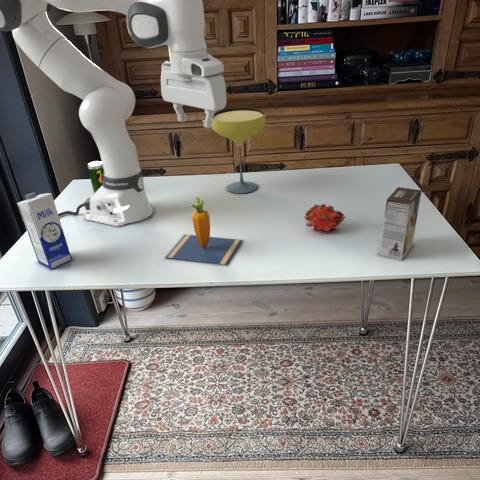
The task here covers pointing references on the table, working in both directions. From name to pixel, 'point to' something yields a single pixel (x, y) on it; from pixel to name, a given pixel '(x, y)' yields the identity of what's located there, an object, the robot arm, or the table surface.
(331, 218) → the dragon fruit
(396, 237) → the coffee box
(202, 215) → the carrot
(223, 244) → the napkin
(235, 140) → the cocktail glass
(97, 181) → the beer can
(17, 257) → the table surface
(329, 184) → the table surface
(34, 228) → the milk carton
